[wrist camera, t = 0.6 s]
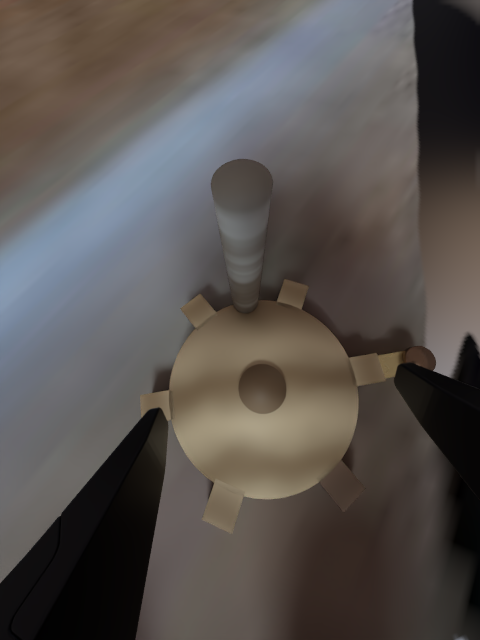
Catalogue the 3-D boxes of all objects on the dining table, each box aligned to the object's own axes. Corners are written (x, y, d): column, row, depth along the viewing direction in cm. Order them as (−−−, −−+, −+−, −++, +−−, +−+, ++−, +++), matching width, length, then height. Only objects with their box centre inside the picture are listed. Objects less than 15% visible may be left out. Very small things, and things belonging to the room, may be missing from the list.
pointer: (411, 347, 22) (429, 343, 20) (421, 372, 21) (440, 371, 19) (364, 356, 22) (376, 353, 19) (372, 381, 21) (386, 381, 19)
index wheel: (407, 485, 18) (993, 859, 4) (157, 532, 18) (-199, 1121, 4) (339, 277, 24) (481, 111, 9) (145, 311, 23) (-21, 194, 9)
